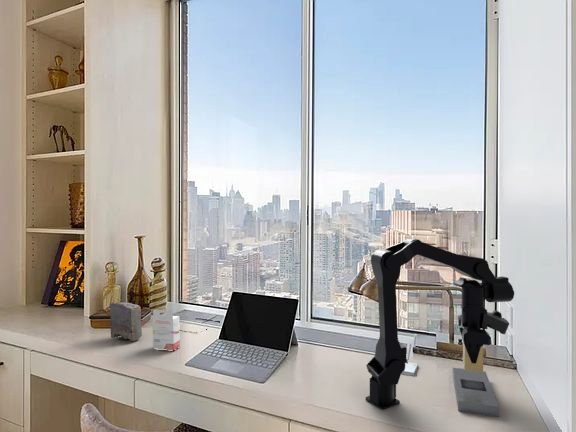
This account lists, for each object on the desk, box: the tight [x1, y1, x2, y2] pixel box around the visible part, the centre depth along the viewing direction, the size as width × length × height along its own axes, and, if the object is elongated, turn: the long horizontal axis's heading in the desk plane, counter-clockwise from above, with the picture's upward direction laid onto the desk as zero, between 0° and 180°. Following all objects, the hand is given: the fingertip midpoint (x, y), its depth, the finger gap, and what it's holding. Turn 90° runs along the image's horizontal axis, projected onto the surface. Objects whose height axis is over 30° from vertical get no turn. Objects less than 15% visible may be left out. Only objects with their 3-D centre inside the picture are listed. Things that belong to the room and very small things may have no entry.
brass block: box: [462, 341, 484, 372], centre depth 106 cm, size 4×4×7 cm
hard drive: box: [401, 361, 419, 377], centre depth 125 cm, size 2×8×12 cm
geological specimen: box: [109, 301, 143, 342], centre depth 152 cm, size 11×6×15 cm, turn 67°
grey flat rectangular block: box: [452, 367, 500, 418], centre depth 106 cm, size 22×9×2 cm, turn 161°
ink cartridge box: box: [152, 309, 181, 351], centre depth 142 cm, size 9×5×15 cm, turn 76°
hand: (472, 359), depth 106 cm, fingers closed on brass block, 4 cm apart
